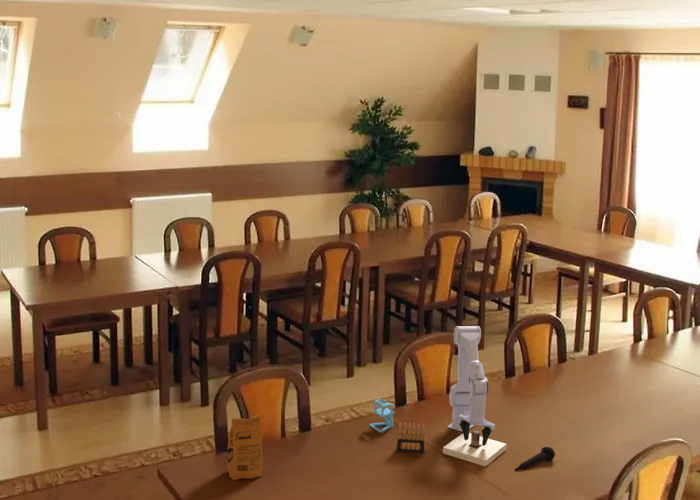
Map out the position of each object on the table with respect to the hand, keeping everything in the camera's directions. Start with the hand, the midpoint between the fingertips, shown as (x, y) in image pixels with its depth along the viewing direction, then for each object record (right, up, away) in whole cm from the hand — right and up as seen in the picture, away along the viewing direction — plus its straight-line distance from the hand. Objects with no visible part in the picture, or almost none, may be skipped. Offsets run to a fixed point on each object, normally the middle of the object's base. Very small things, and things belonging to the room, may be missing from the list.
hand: (475, 442), depth 345 cm
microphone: (+21, -7, -8) cm, 23 cm away
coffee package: (-86, -7, -22) cm, 89 cm away
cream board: (0, -4, +1) cm, 4 cm away
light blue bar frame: (-35, +1, +20) cm, 40 cm away
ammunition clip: (-25, -4, 0) cm, 25 cm away
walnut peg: (0, -4, +1) cm, 4 cm away
